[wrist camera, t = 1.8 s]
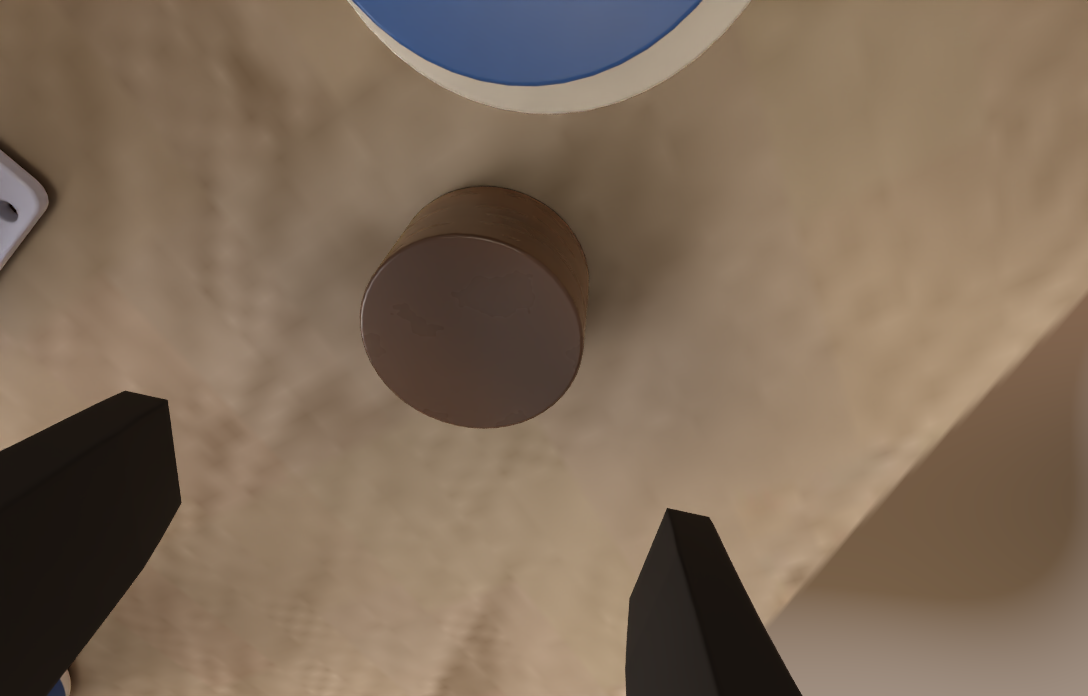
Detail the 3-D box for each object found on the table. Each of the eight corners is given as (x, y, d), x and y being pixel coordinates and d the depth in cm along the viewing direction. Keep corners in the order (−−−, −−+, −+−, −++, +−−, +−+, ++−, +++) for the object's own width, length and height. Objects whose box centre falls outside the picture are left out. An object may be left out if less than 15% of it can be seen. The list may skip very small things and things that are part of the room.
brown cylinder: (488, 390, 18) (468, 461, 15) (357, 264, 16) (313, 323, 14) (628, 294, 16) (630, 358, 14) (496, 141, 14) (472, 184, 12)
